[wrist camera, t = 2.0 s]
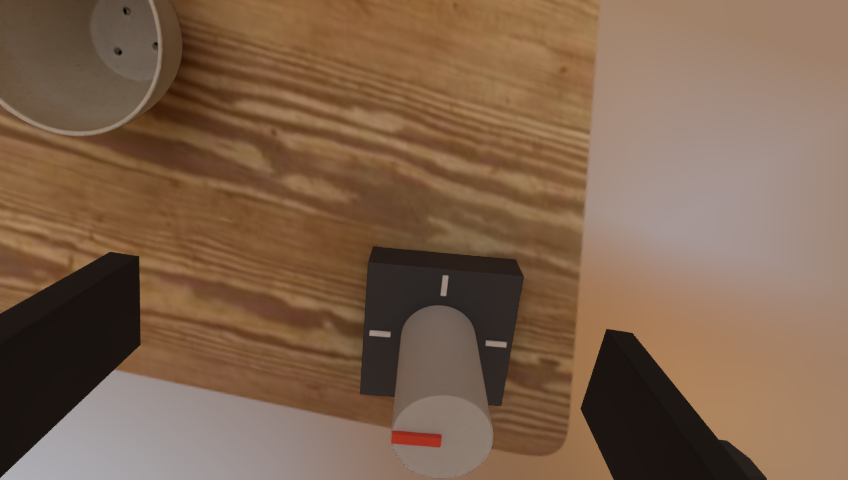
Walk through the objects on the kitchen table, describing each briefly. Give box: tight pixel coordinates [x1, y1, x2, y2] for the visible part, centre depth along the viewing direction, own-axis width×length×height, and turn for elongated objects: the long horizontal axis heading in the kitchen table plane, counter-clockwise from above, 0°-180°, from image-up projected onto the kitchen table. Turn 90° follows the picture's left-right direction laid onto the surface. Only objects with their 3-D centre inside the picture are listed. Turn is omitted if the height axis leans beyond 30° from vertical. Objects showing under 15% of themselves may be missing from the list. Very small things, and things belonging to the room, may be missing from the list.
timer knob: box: [391, 305, 493, 479], centre depth 28 cm, size 5×5×10 cm
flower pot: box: [0, 0, 183, 136], centre depth 26 cm, size 10×10×7 cm
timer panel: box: [360, 247, 524, 406], centre depth 34 cm, size 10×10×3 cm
